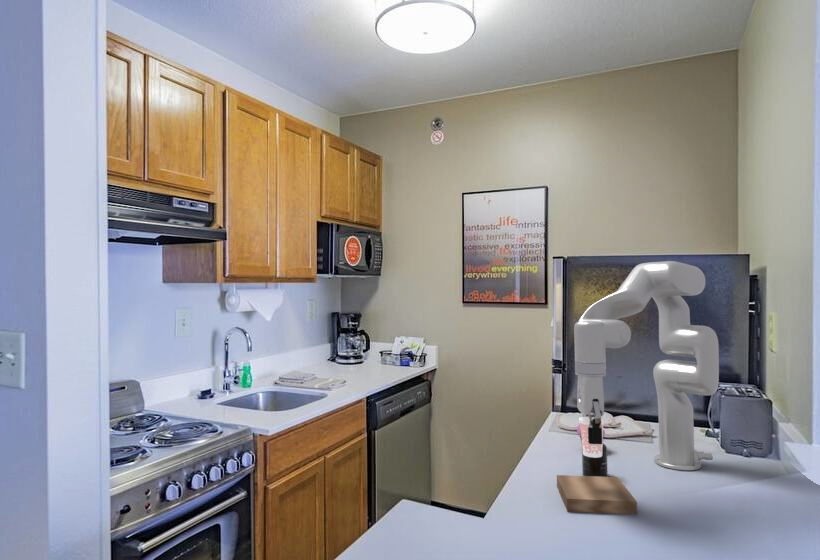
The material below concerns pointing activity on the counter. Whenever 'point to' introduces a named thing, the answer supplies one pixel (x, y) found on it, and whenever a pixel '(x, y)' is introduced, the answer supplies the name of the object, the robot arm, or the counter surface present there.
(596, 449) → the beverage cup
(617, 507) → the walnut base
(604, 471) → the supplement bottle
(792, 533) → the counter surface
